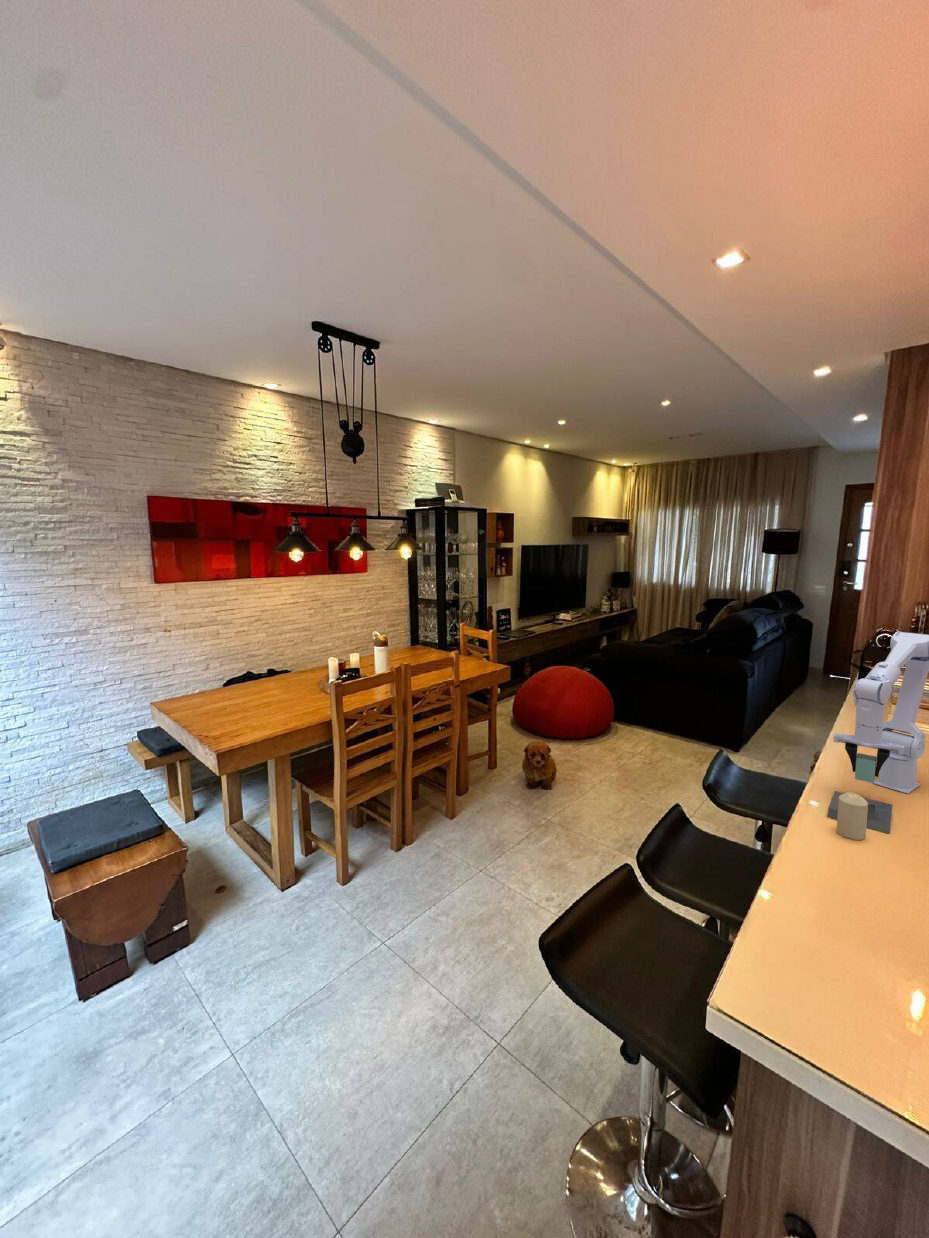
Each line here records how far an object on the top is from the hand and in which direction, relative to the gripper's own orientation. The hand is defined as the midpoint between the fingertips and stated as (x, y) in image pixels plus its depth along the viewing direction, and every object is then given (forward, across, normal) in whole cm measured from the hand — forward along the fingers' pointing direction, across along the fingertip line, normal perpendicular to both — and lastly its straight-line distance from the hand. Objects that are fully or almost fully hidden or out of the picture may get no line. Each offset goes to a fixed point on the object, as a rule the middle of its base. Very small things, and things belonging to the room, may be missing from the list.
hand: (865, 773), depth 134 cm
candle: (+8, -1, -22) cm, 23 cm away
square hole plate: (+8, 0, -10) cm, 13 cm away
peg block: (+2, 0, 0) cm, 2 cm away
